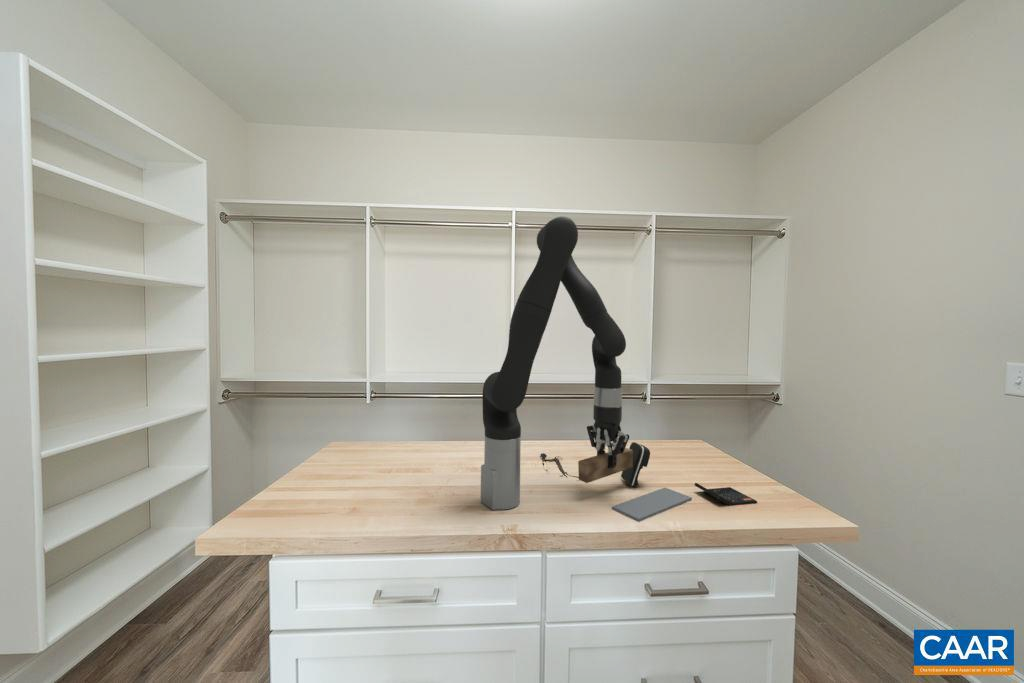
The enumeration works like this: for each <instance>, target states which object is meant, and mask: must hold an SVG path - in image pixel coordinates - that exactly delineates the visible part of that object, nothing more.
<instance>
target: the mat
mask: <svg viewBox="0 0 1024 683" xmlns="http://www.w3.org/2000/svg"><path fill="white" fill-rule="evenodd" d="M692 500H693V498H692V496H689V495H686V494H683V493H680V492H678V491H675V490H672V489H670V488H667V487H662V488H660V489H656V490H654V491H652V492H648V493H646V494H645V493H644V494H643V495H640V496H637V497H634V498H632V499H629V500H626V501H624V502H620V503H618V504H615V505H614V504H613V505H612V506H611V509H612V510H613V511H616V512H618V513H620V512H621V513H620V514H622V513H623V514H622V515H624V514H625V515H624V516H626V517H628V516H629V518H630V517H631V518H630V519H632V518H633V520H635V522H636V521H637V522H641V521H644V520H646V519H649V518H650V517H653V515H654V516H656V515H659V514H661V513H663V512H665V510H666V511H668V510H670V509H674V508H675V507H678V506H680V505H682V504H685V503H687V501H688V502H690V501H692ZM648 517H649V518H648Z"/></svg>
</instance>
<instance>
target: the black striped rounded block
mask: <svg viewBox="0 0 1024 683" xmlns="http://www.w3.org/2000/svg"><path fill="white" fill-rule="evenodd" d="M628 449H631V450H633V468H630V469H627V470H624V471H621V475H620V477H621V479H622V480H624V481H625V483H627V484H628V485H630V486H631V487H639V482H638V479H639V474H640V472H641V470H642V469H643V467H645V468H647V467H648V465H649V460H650V457H651V450H650V449H649V448H648V447H646V446H645V445H643V444H641V443H638V442H635V441H634V442H632V443H630V446H629V448H628Z"/></svg>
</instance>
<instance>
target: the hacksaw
mask: <svg viewBox="0 0 1024 683" xmlns="http://www.w3.org/2000/svg"><path fill="white" fill-rule="evenodd" d="M540 455H541V457H542V458H541V457H540V458H541V461H542V460H543V461H550V462H555V463H556V466H557V465H558V466H557V468H558V467H559V468H558V469H559V472H560V473H561V472H562V473H561V474H562V475H560V477H563V475H564V476H566V475H567V476H568V475H569V476H568V477H573V478H576V479H577V478H578V480H577V482H578V481H580V480H579V476H574V475H570V474H568V473H567V472H568V471H564V469H563V467H562V464H561V461H560V459H563V457H562V456H560V458H558V457H557V456H555V457H554V458H551V459H546V457H545V456H547V454H546V453H540V454H539V456H540ZM547 457H548V456H547ZM556 457H557V458H556ZM554 460H555V461H554ZM565 474H566V475H565ZM567 476H566V477H565V478H568V477H567Z"/></svg>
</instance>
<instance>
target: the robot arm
mask: <svg viewBox="0 0 1024 683" xmlns="http://www.w3.org/2000/svg"><path fill="white" fill-rule="evenodd" d="M536 235H537V236H536V246H537V248H538V250H539V256H538V259H537V262H536V264H535V266H534V268H533V270H532V272H531V273H530V276H528V279H527V280H526V282H525V284H524V285H523V288H522V289H521V291H520V294H519V295H518V298H517V299H516V303H515V306H514V309H513V311H512V313H511V314H512V315H511V317H510V318H511V319H510V322H509V329H508V330H509V332H508V345H507V351H506V354H505V358H504V360H503V363H502V365H501V368H500V370H499V371H495V372H493V373H491V374H490V375H489V376H488V377H487V378H486V379H485V381H484V383H483V386H482V422H483V427H484V428H483V429H484V451H483V452H484V454H483V455H484V458H483V459H484V460H483V462H484V463H483V464H481V466H480V502H481V503H482V504H483V505H485V506H486V507H488V508H489V509H490V510H492V511H495V510H502V511H503V510H511V509H513V508H515V507H517V506H519V505H520V502H521V501H520V500H521V444H522V443H521V442H522V440H521V439H522V438H521V437H522V436H521V434H522V426H521V423H520V421H519V418H518V413H517V409H518V408H519V407H520V406H521V405H522V403H523V402H524V400H525V398H526V395H527V390H528V386H529V382H530V377H531V373H532V369H533V364H534V361H535V359H536V356H537V353H538V350H539V348H540V345H541V342H542V339H543V335H544V334H545V331H546V329H547V328H546V327H547V326H548V323H549V320H550V316H551V314H552V311H553V308H554V303H555V301H556V298H557V295H558V291H559V288H560V284H561V283H562V285H563V287H564V289H565V290H566V292H567V293H568V295H569V297H570V298H571V301H572V303H573V305H574V307H575V309H576V310H577V312H578V314H579V317H580V319H581V320H582V323H583V324H584V326H585V327H587V328H589V329H590V330H591V332H592V333H593V335H594V336H593V338H592V343H591V353H592V359H593V360H592V361H593V365H594V366H593V367H594V370H595V372H594V392H593V414H592V415H593V420H594V422H593V424H592V425H591V424H590V425H587V426H586V432H587V434H588V437H589V442H590V445H591V447H592V448H594V449H595V450H596V456H597V455H601V454H604V453H606V451H605V450H606V447H607V450H608V452H609V455H608V468H609V469H613V468H615V466H616V462H617V455H618V454H622V453H623V452H624V449H625V448H627V444H628V442H629V440H630V435H629V434H625V433H624V432H623V431H622V427H621V422H622V419H623V418H622V417H623V414H622V413H623V408H622V407H623V394H622V370H621V368H620V367H619V366H618V365H617V359H616V358H617V357H620V356H621V355H622V354H623V353H624V352H625V351H626V347H627V341H626V338H625V335H624V333H623V331H622V330H621V328H620V327H619V325H618V324H617V323H616V321H615V320H614V318H612V316H611V315H610V314H609V312H608V310H607V307H606V305H605V304H604V302H603V299H602V297H601V295H600V294H599V292H598V290H597V289H596V287H595V286H594V285H593V284H592V283H591V281H590V280H589V279H588V278H587V277H586V276H585V275H584V273H583V272H582V271H581V270H580V268H579V267H578V265H577V263H576V262H575V259H574V258H573V252H574V250H575V248H576V246H577V243H578V238H579V231H578V227H577V225H576V223H575V221H573V219H572V218H569V217H567V216H558V217H555V218H553V219H551V220H549V221H547V223H546V224H545V225H543V226H542V228H541V229H539V231H538V233H537V234H536Z"/></svg>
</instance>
